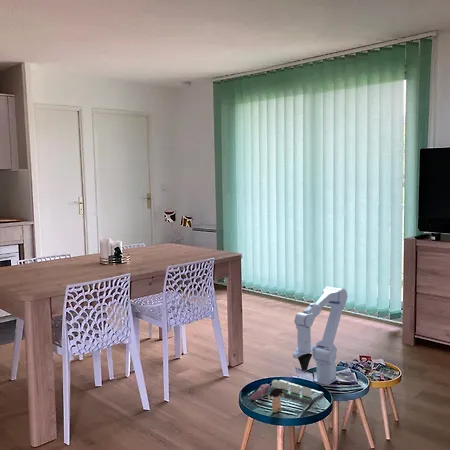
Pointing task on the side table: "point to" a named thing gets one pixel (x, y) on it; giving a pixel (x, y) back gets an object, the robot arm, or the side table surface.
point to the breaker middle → (295, 388)
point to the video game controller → (260, 392)
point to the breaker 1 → (283, 384)
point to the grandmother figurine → (276, 396)
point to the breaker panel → (300, 397)
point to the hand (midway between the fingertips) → (304, 370)
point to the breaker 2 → (306, 391)
